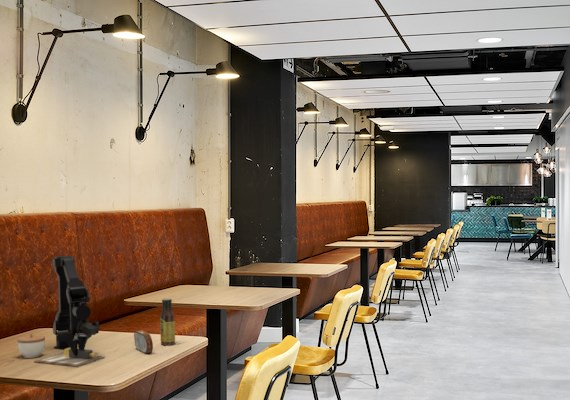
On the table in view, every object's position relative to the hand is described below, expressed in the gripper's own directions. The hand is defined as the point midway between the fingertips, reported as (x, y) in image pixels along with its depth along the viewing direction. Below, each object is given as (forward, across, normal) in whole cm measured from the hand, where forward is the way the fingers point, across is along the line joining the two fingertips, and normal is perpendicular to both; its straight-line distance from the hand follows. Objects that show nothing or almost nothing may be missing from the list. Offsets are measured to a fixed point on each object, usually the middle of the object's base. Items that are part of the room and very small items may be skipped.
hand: (78, 354), depth 299 cm
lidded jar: (+2, -3, +22) cm, 22 cm away
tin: (+2, +20, -17) cm, 26 cm away
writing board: (+2, -3, +2) cm, 4 cm away
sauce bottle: (+2, +35, -19) cm, 40 cm away
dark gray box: (+1, 0, 0) cm, 1 cm away
